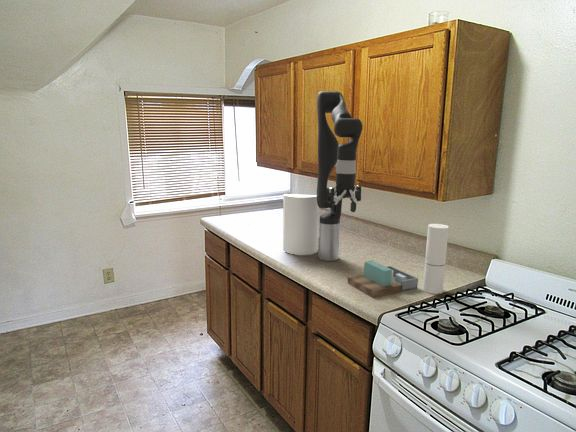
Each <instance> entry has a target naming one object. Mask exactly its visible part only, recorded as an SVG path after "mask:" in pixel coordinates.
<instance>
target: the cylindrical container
mask: <svg viewBox="0 0 576 432" xmlns="http://www.w3.org/2000/svg"><path fill="white" fill-rule="evenodd" d="M449 229H450V227H449V225H447V224H441V223H429V224H427V233H426V248H425V259H424V270H423V282H422V283H423V284H422V290H423V291H424V292H426V293H428V294H432V295H433V294H434V295H436V294H437V295H439V294H438V293H440V294H443V291H444V283H445V282H444V281H445V272H446V260H447V251H448V249H447V248H448V240H449V239H448V238H449Z"/></svg>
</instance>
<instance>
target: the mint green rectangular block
mask: <svg viewBox="0 0 576 432" xmlns="http://www.w3.org/2000/svg"><path fill="white" fill-rule="evenodd" d="M363 263H364V266H363V274H364V276H365V277H367V278H369V279H370V280H372V281H374V282H376V283H378V284H380V285H382V286H388V285H391V277H392V269H390V268H387V267H386V266H384V265H382V264H381V263H378V262H376V261H375V260H366V261H364V262H363Z"/></svg>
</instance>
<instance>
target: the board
mask: <svg viewBox="0 0 576 432" xmlns="http://www.w3.org/2000/svg"><path fill="white" fill-rule="evenodd" d="M347 284H349V285H350V286H352V287H353V288H356V289H357V290H359V291H361V292H363V294H364V293H365V294H366V295H367V296H370V297H371V298H372V299H373V298H378V297H384V296H387V295H392V294H396V293H397V294H398V293H401V292H402V291H401V285H400V284H398V283H396V282H394V281H391V285H388V286H382V285H380V284H378V283H376V282H374V281H372V280H370V279H369V278H367V277H365V276H364V273H362V274H357V275H350V276H347Z"/></svg>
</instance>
